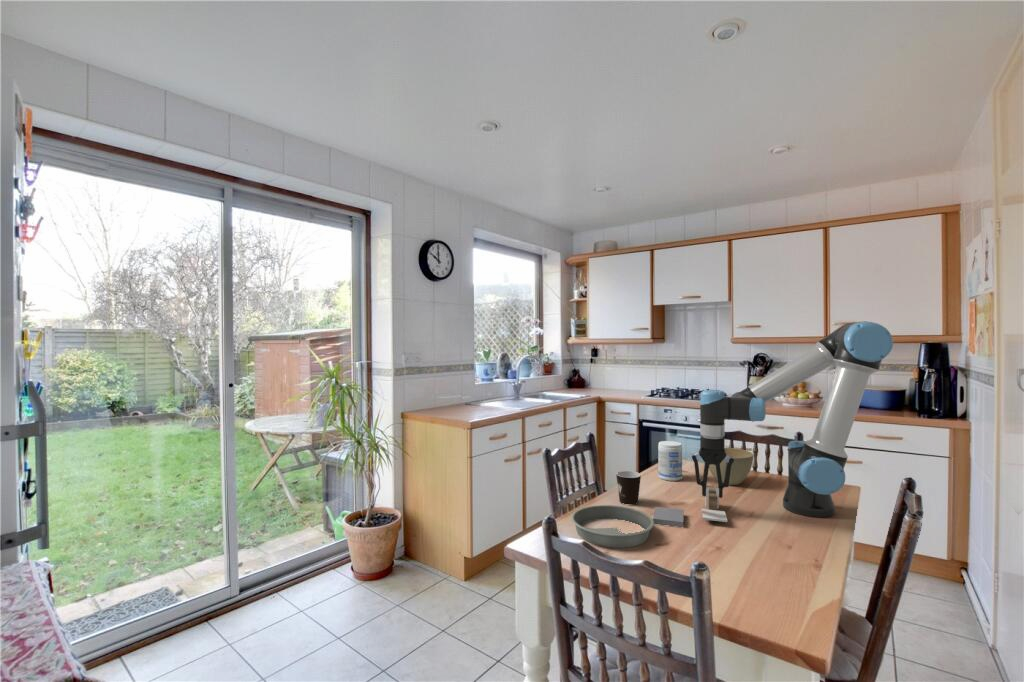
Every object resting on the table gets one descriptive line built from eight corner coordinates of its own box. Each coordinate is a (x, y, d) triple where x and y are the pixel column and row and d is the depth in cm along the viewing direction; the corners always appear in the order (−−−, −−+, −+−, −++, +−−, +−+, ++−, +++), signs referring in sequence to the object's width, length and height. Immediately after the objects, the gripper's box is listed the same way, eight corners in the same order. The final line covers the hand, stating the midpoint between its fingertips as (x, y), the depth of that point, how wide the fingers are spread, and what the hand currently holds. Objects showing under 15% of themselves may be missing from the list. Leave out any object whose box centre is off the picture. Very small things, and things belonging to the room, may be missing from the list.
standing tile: (655, 506, 162) (653, 518, 151) (683, 509, 158) (683, 522, 148) (655, 513, 162) (653, 525, 151) (683, 516, 158) (683, 529, 148)
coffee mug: (641, 506, 167) (641, 478, 167) (616, 505, 168) (616, 477, 168) (639, 496, 178) (639, 469, 178) (616, 494, 180) (615, 468, 180)
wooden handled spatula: (699, 498, 169) (699, 484, 169) (721, 501, 167) (721, 486, 167) (703, 519, 150) (703, 503, 150) (727, 522, 148) (727, 506, 148)
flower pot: (738, 475, 203) (738, 446, 203) (763, 488, 185) (762, 457, 185) (697, 476, 202) (696, 447, 202) (717, 489, 184) (717, 458, 184)
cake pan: (669, 532, 145) (669, 517, 145) (624, 559, 128) (624, 542, 128) (602, 512, 163) (602, 498, 163) (554, 533, 146) (554, 518, 146)
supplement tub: (672, 483, 193) (672, 446, 193) (653, 477, 201) (653, 442, 201) (687, 478, 199) (686, 443, 199) (667, 473, 207) (667, 439, 207)
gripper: (736, 435, 161) (736, 505, 162) (687, 432, 166) (687, 500, 167) (739, 440, 154) (739, 512, 155) (687, 437, 159) (687, 507, 159)
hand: (712, 506), depth 161 cm, fingers closed on wooden handled spatula, 2 cm apart
